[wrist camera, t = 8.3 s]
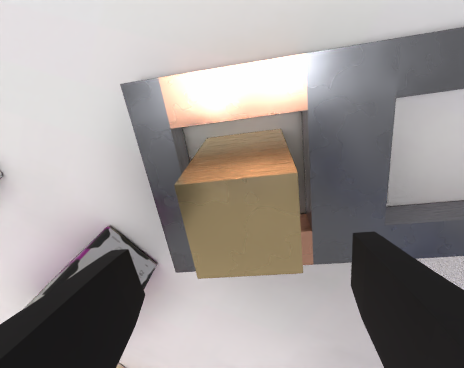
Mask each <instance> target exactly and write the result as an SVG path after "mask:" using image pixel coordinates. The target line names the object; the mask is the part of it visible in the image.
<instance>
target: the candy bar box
mask: <svg viewBox="0 0 464 368" xmlns="http://www.w3.org/2000/svg"><path fill="white" fill-rule="evenodd" d="M121 249H128V250H129V252H130V255H131V258H132V260H133V263H134V266H135V269H136V271H137V274H138V277H139V279H140V282H141V285H142V288H143V290H144V288H145V286H146V284H147V283H148V281H149V279H150V277H151V275H152V273H153V271H154V269H155V268H156V266H157V264H156V263H155V262H154V261H153V260H152V259H151V258H149V257H148V256H147V255H146V254H144V253H143V252H142V251H140V250H139V249H138V248H137V247H135V246H134V245H133V244H132V243H131V242H130V241H128V240H127V239H126V238H125V237H124V236H123V235H121V234H120V233H119V232H117V231H116V230H114V229H113V228H112V227H110V226H108V227H106V228H105V229H104V230H103V231H102V232H101V233H100V234H99V235H98V236H97V237H96V238H95V239H94V240H93V241H92V242H91V243H90V244H89V245H88V246H87V247H86V248H85V249H83V250H82V251H81V252H80V253H79V254H78V255H77V256H76V257H75V258H74V259H73V260H72V261H71V262H70V263H69V264H68V265H67V266H66V267H65V268H64V269H63V270H62V271H61V272H60V273H59V274H58V275H57V276H56V277H55V278H54V279H53V280H52V281H51V282H50V283H49V284H48V285H47V286H46V287H45V288H44V289H43V290H42V291H41V292H40V293H39V294H38V295H37V296H36V297H35V298H34V299H33V300H32V301H31V302H30V303H29V304H28V305H27V306H26V307H28V306H29V305H31V304H32V303H34V302H35V301H37V300H38V299H40V298H41V297H43V296H44V295H46V294H47V293H49V292H50V291H51V290H53V289H54V288H56V287H57V286H59V285H60V284H62V283H63V282H64V281H66V280H67V279H69V278H70V277H72V276H73V275H74V274H76V273H77V272H79V271H80V270H82V269H83V268H85V267H86V266H87V265H89V264H90V263H92V262H93V261H95V260H96V259H98V258H99V257H101V256H103V255H104V254H106V253H108V252H109V251H111V250H121ZM26 307H25V308H26ZM25 308H24V309H25Z"/></svg>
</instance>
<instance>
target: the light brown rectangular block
mask: <svg viewBox="0 0 464 368" xmlns="http://www.w3.org/2000/svg"><path fill="white" fill-rule="evenodd" d="M174 187H175V191H176V195H177V199H178V203H179V207H180V211H181V215H182V218H183V222H184V226H185V230H186V234H187V238H188V242H189V246H190V250H191V254H192V258H193V262H194V265H195V269H196V273H197V277H198V279H201V278H220V277H239V276H258V275H277V274H296V273H303V263H302V244H301V225H300V207H299V188H298V172H297V169H296V167H295V164H294V162H293V159H292V157H291V154H290V151H289V149H288V146H287V144H286V141H285V138H284V136H283V133H282V131H281V129H274V130H267V131H259V132H251V133H243V134H235V135H227V136H219V137H211V138H207V139H206V140H205V142H204V143H203V145H202V146H201V147H200V149H199V150H198V152H197V153H196V155H195V156H194V157H193V159H192V160H191V162H190V163H189V165H188V166H187V167H186V169H185V170H184V172H183V173H182V175H181V176H180V178H179V179H178V180H177V182H176V183H175V185H174Z"/></svg>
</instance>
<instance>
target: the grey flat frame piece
mask: <svg viewBox="0 0 464 368" xmlns="http://www.w3.org/2000/svg"><path fill="white" fill-rule="evenodd" d="M120 85H121V89H122V92H123V95H124V99H125V102H126V105H127V109H128V112H129V116H130V119H131V122H132V126H133V129H134V132H135V136H136V139H137V143H138V146H139V149H140V153H141V156H142V160H143V163H144V166H145V170H146V173H147V176H148V180H149V183H150V187H151V190H152V193H153V197H154V200H155V203H156V207H157V210H158V214H159V217H160V220H161V224H162V227H163V231H164V234H165V237H166V241H167V244H168V247H169V251H170V254H171V258H172V261H173V264H174V268H175V271H176V272H193V271H196V269H195V265H194V262H193V258H192V254H191V250H190V246H189V242H188V238H187V234H186V230H185V226H184V222H183V218H182V215H181V211H180V207H179V203H178V199H177V195H176V191H175V187H174V185H175V183H176V182H177V180H178V179H179V178H180V176H181V175H182V173H183V172H184V170H185V169H186V167H187V166H188V165H189V163H190V161H189V157H188V152H187V148H186V143H185V139H184V134H183V130H182V127H187V126H194V125H201V124H209V123H216V122H223V121H231V120H238V119H245V118H253V117H260V116H267V115H275V114H282V113H289V112H297V111H302V127H303V149H304V172H305V194H306V214H300V225H301V244H302V263H303V265H313V264H331V263H348V262H352V240H353V233H359V232H373V231H375V232H376V233H378V234H379V235H381V236H382V237H384V238H385V239H387V240H388V241H390V242H391V243H393V244H394V245H396V246H397V247H399V248H400V249H402V250H403V251H404V252H406V253H407V254H409V255H410V256H412V257H413V258H415V259H417V258H434V257H451V256H464V201H452V202H440V203H429V204H417V205H405V206H393V207H386V203H387V192H388V180H389V169H390V158H391V147H392V136H393V125H394V113H395V102H396V98H399V97H406V96H414V95H421V94H428V93H436V92H443V91H450V90H457V89H464V27H462V28H456V29H450V30H444V31H438V32H432V33H425V34H419V35H413V36H407V37H401V38H395V39H389V40H383V41H377V42H371V43H365V44H359V45H353V46H347V47H341V48H335V49H329V50H323V51H317V52H311V53H305V54H299V55H293V56H287V57H281V58H275V59H269V60H263V61H256V62H250V63H244V64H238V65H232V66H226V67H220V68H214V69H208V70H202V71H196V72H190V73H184V74H178V75H172V76H166V77H160V78H154V79H148V80H142V81H136V82H130V83H124V84H120Z"/></svg>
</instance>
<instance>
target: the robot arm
mask: <svg viewBox="0 0 464 368" xmlns="http://www.w3.org/2000/svg"><path fill="white" fill-rule="evenodd" d="M351 287H352V290H353V293H354V297H355V300H356V303H357V306H358V309H359V312H360V315H361V318H362V320H363V322H364V325H365V327H366V329H367V331H368V333H369V336H370V338H371V340H372V342H373V344H374V346H375V349H376V351H377V353H378V355H379V357H380V359H381V362H382V364H383V366H384V368H464V290H462V289H461V288H459V287H458V286H456V285H455V284H453V283H451V282H450V281H448V280H447V279H445V278H443V277H442V276H440V275H439V274H437V273H436V272H434V271H433V270H431V269H430V268H428V267H427V266H425V265H424V264H422V263H421V262H419V261H418V260H416V259H415V258H413V257H412V256H410V255H409V254H407V253H406V252H404V251H403V250H402V249H400V248H399V247H397V246H396V245H394V244H393V243H391V242H390V241H388V240H387V239H385V238H384V237H382V236H381V235H379V234H378V233H376V232H375V231H373V232H359V233H353V240H352V269H351ZM144 297H145V293H144V290H143V288H142V285H141V282H140V279H139V277H138V274H137V271H136V269H135V266H134V263H133V260H132V258H131V255H130V252H129V250H128V249H121V250H111V251H109V252H108V253H106V254H104V255H103V256H101V257H99V258H98V259H96V260H95V261H93V262H92V263H90V264H89V265H87V266H86V267H85V268H83V269H82V270H80V271H79V272H77V273H76V274H74V275H73V276H72V277H70V278H69V279H67V280H66V281H64V282H63V283H62V284H60V285H59V286H57V287H56V288H54V289H53V290H51V291H50V292H49V293H47V294H46V295H44V296H43V297H41V298H40V299H38V300H37V301H35V302H34V303H32V304H31V305H29V306H28V307H26V308H25V309H23V310H22V311H20V312H19V313H17V314H15V315H14V316H12V317H11V318H9V319H8V320H6V321H5V322H3V323H2V324H0V368H116V367H117V365H118V362H119V360H120V358H121V356H122V354H123V352H124V350H125V347H126V345H127V343H128V341H129V339H130V336H131V334H132V332H133V330H134V327H135V325H136V322H137V319H138V316H139V313H140V310H141V307H142V303H143V300H144Z"/></svg>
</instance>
